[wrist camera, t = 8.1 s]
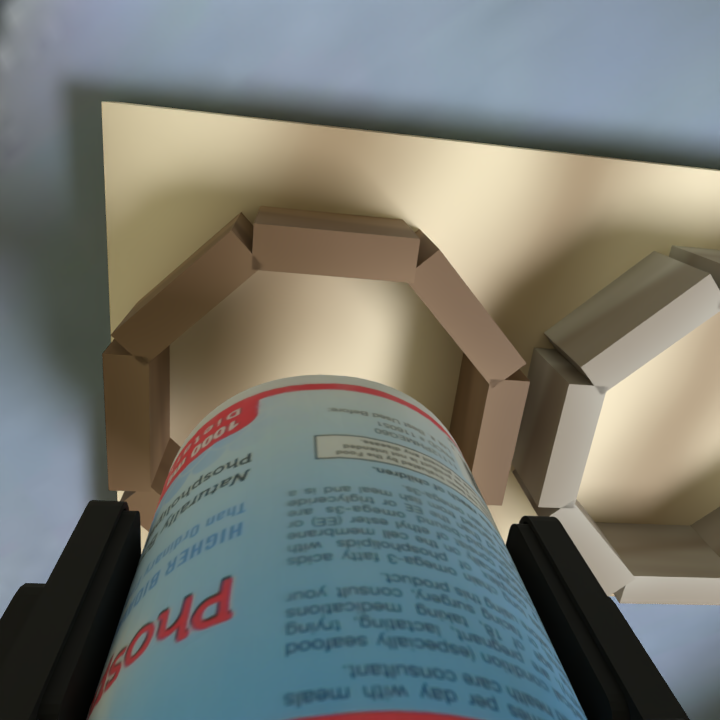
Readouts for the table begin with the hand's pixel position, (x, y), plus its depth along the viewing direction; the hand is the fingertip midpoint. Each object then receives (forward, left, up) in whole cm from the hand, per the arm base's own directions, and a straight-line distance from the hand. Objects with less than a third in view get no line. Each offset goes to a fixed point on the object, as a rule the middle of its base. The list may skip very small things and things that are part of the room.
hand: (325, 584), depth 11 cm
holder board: (-6, 0, -9) cm, 11 cm away
